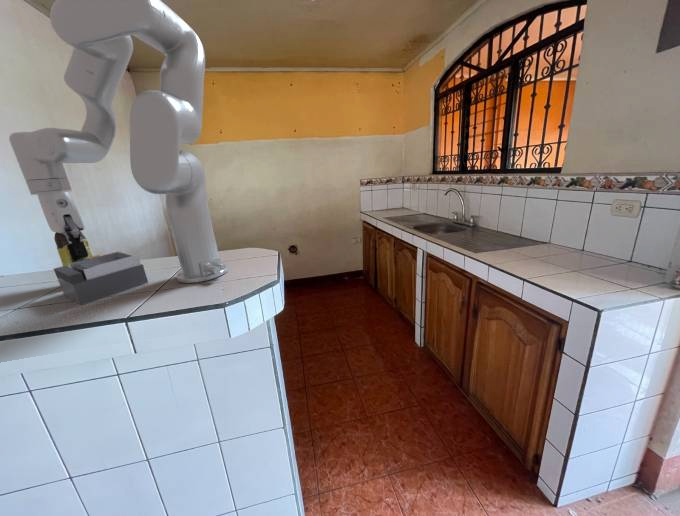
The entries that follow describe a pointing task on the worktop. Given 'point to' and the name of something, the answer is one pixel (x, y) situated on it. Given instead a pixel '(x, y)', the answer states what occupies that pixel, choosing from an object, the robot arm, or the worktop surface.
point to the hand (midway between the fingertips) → (76, 256)
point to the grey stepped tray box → (100, 276)
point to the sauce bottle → (64, 250)
